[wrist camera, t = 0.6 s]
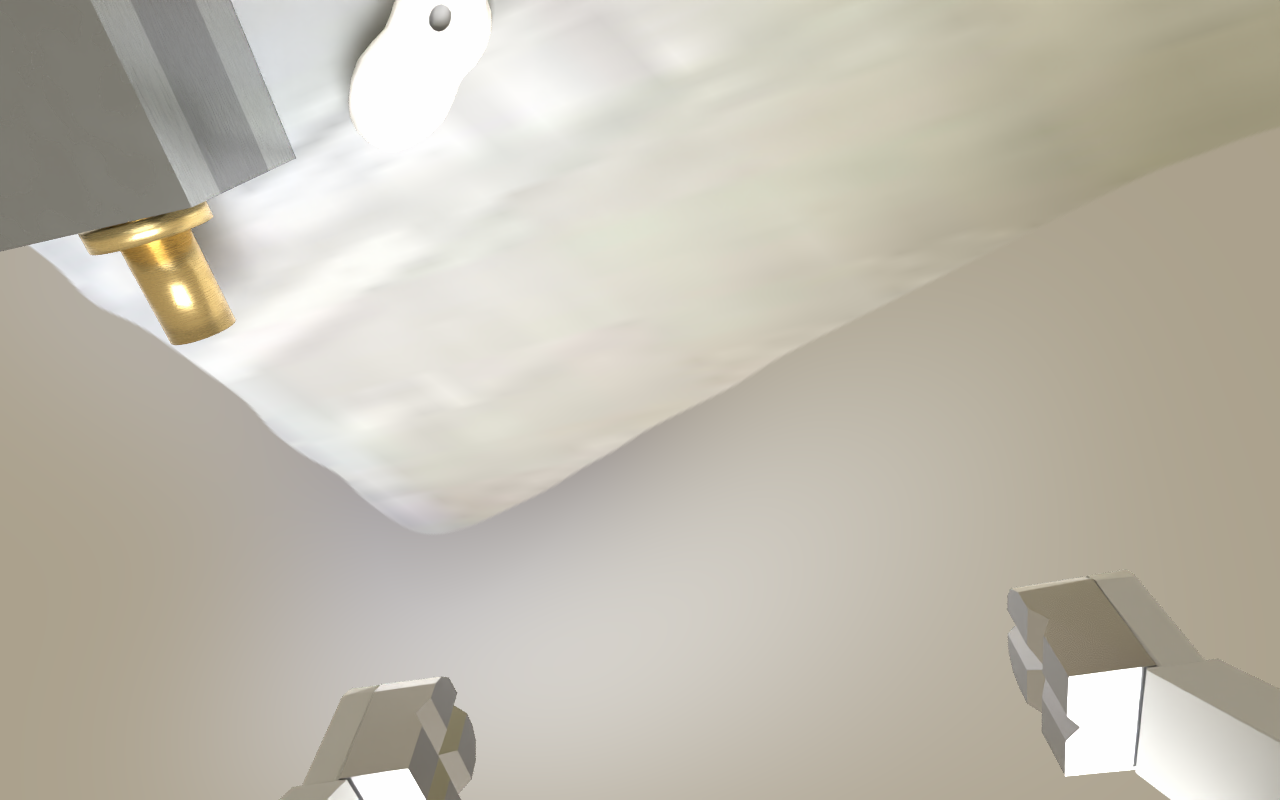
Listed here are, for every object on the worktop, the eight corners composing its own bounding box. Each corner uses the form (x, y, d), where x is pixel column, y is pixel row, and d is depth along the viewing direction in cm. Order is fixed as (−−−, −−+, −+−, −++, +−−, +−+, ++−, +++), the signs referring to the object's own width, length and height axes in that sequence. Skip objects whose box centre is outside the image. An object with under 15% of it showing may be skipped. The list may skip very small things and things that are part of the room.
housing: (4, 11, 48) (-204, 18, 36) (211, -45, 46) (62, -56, 34) (107, 202, 53) (-45, 261, 42) (295, 158, 51) (191, 207, 40)
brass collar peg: (61, 90, 46) (-31, 106, 40) (166, 63, 46) (89, 75, 39) (183, 320, 53) (121, 364, 47) (277, 301, 52) (226, 342, 46)
